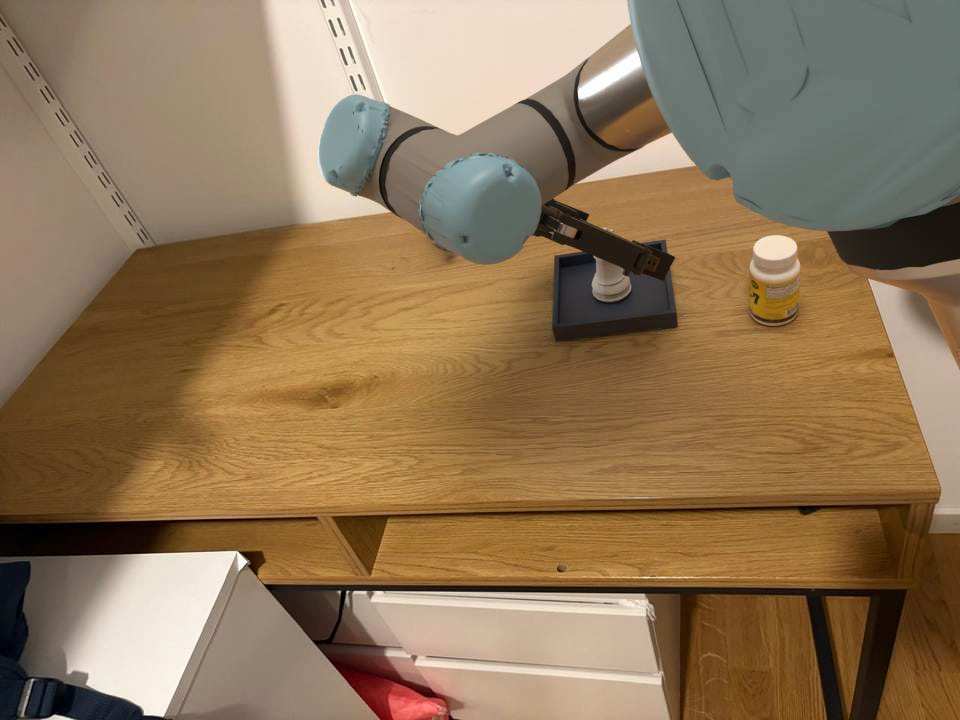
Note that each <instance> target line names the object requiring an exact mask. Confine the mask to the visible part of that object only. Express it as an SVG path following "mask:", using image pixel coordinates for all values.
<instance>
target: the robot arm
mask: <svg viewBox="0 0 960 720" xmlns="http://www.w3.org/2000/svg"><path fill="white" fill-rule="evenodd" d="M626 3H627V10H628V14H629V20H630V21H629V22H630V24H629V25H627V26H626V27H625V28H623V29H622V30H621V31H619V32H618V33H617V34H616V35H615V36H613V37H612V38H611V39H610V40H608V41H607V42H606V43H605V44H603V45H602V46H600V48H598V49H597V50H596V51H594V52H593V53H592V54H590V56H588V57H587V58H586V59H584V60H582V62H580V63H579V64H578V65H577V66H575V67H574V68H573V69H572V70H570V71H569V72H568V73H566V74H565V75H563V76H562V77H560V78H558V79H557V80H555V81H554V82H552V83H550V84H549V85H546V86H545V87H543V88H541V89H540V90H538V91H536V92H535V93H533V94H532V95H530V96H528V97H527V98H525V99H522V100H519V101H518V102H516V103H514V104H512V105H511V106H509V107H507V108H505V109H504V110H502V111H500V112H498V113H496V114H494V115H492V116H491V117H489V118H487V119H485V120H483V121H482V122H480V123H478V124H475V126H473V127H471V128H469V129H467V130H465V131H464V132H462V133H460V134H454V133H451V132H449V131H448V130H445V129H443V128H440V127H438V126H436V125H433V124H431V123H429V122H427V121H425V120H423V119H421V118H419V117H416V116H414V115H412V114H409V113H407V112H405V111H403V110H400V109H398V108H395V107H393V106H391V104H389V103H387V102H385V101H379V100H376V99H373V98H370V97H367V96H364V95H362V94H358V93H357V94H351V95H348V96H346V97H343V98H342V99H340V100H339V101H338V102H337V103H336V104H335V105H334V106H333V108H332V110H330V112H329V114H328V115H327V117H326V119H325V121H324V124H323V127H322V130H321V133H320V135H319V140H318V147H317V164H318V169H319V173H320V174H321V176H322V178H323V179H324V181H325V182H326V183H327V184H329V185H330V186H331V187H335V188H337V189H340V190H342V191H344V192H347V193H349V194H350V195H351V197H360V198H361V197H362V198H364V199H367V200H370V201H372V202H374V203H376V204H378V205H380V206H381V207H383V208H385V209H386V210H387V211H388V212H390V213H392V214H393V215H395V216H396V217H398V218H400V219H402V220H404V221H406V222H407V223H409V224H410V225H412V226H413V227H414V228H416V229H417V230H419V231H420V232H422V233H423V234H424V235H426V237H427V238H429V239H430V240H431V241H432V242H433V244H434V243H435V244H436V245H438V246H440V247H441V248H443V249H446V250H448V251H447V252H449V253H452V254H456V255H458V256H459V257H461V258H463V259H464V260H466V261H468V262H470V263H473V264H476V265H481V266H490V265H497V264H501V263H504V262H506V261H509V260H510V259H512V258H514V257H515V256H516V255H518V254H519V253H520V252H521V251H522V250H523V249H524V245H525V243H526V242H527V241H528V240H529V238H530V237H532V236H534V237H537V238H540V237H543V238H545V239H548V240H550V241H552V242H554V243H557V244H559V245H561V246H567V247H571V248H574V249H576V250H578V251H580V252H582V251H583V252H585V253H588V254H590V255H593V256H595V257H597V258H600V259H602V260H605V261H607V262H609V263H612V264H614V265H617V266H619V267H621V268H624V270H623V272H622V274H623V275H625V276H627V277H628V276H629V274H630V272H632V273H633V274H635V275H641V274H645V275H648V276H651V277H654V278H657V279H660V280H663V281H664V279H665V277H666V275H667V273H668V271H669V269H670V270H671V267H672V265H673V263H674V261H675V259H676V256H675V255H672V254H671V253H665V252H663V251H660V250H657V249H655V248H652V247H650V246H647V245H645V244H642V243H643V242H639V241H637V240H634V239H632V240H629V239H628V238H625V237H623V236H620V235H618V234H616V233H615V232H614V233H615V234H614V233H611V232H610V231H609V230H608V231H607V230H605V229H603V227H600V226H598V225H595V224H593V223H592V222H589V221H588V219H589V216H590V213H588V212H585V211H583V210H580V209H578V208H577V207H576V208H575V207H573V206H571V205H569V204H566V203H563V202H561V201H558V200H556V199H555V198H556V197H558V196H559V195H561V194H562V193H564V192H565V191H567V190H568V189H570V188H571V187H572V186H574V185H576V184H578V183H579V182H581V181H583V180H585V179H586V178H588V177H590V176H591V175H593V174H595V173H596V172H598V171H600V170H602V169H603V168H606V167H607V166H608V165H610V164H612V163H614V162H616V161H619V160H620V159H622V158H624V157H626V156H628V155H631V154H632V153H634V152H636V151H638V150H641V149H642V148H644V147H645V146H647V145H649V144H651V143H653V142H655V141H657V140H659V139H661V138H663V137H666V136H668V135H670V134H672V135H673V137H674V139H675V140H676V141H677V143H678V144H679V146H680V147H681V149H682V150H683V151H684V153H685V154H686V155H687V157H688V158H689V160H690V161H691V162H692V163H693V164H694V165H695V167H697V168H698V169H699V170H700V172H701V173H703V175H705V176H706V177H707V178H708V179H710V180H714V181H720V180H723V179H727V178H729V179H731V181H732V190H733V197H734V199H735V202H736V203H738V204H739V205H741V206H743V207H745V208H746V209H748V210H750V211H751V212H754V213H755V214H758V215H760V216H761V217H764V218H766V219H769V220H770V221H773V222H775V223H779V224H782V225H784V226H789V227H792V228H798V229H803V230H808V231H817V232H827V235H828V236H829V238H830V240H831V242H832V244H833V246H834V248H835V251H836V253H837V254H838V257H839V259H840V261H841V262H842V265H843V266H844V267H845V269H846V270H847V271H848V272H850V273H851V274H853V275H856V276H858V277H861V278H864V279H867V280H871V281H875V282H878V283H882V284H885V285H888V286H892V287H895V288H899V289H902V290H905V291H910V292H912V293H916V294H919V295H921V296H922V297H924V298H925V300H926V303H927V304H928V306H929V308H930V310H931V313H932V314H933V317H934V319H935V321H936V323H937V325H938V327H939V329H940V332H941V333H942V336H943V338H944V340H945V342H946V344H947V346H948V348H949V351H950V353H951V355H952V357H953V359H954V362H955V363H956V365H957V367H958V370H959V371H960V0H626ZM435 244H434V245H435ZM446 250H445V251H446Z"/></svg>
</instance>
